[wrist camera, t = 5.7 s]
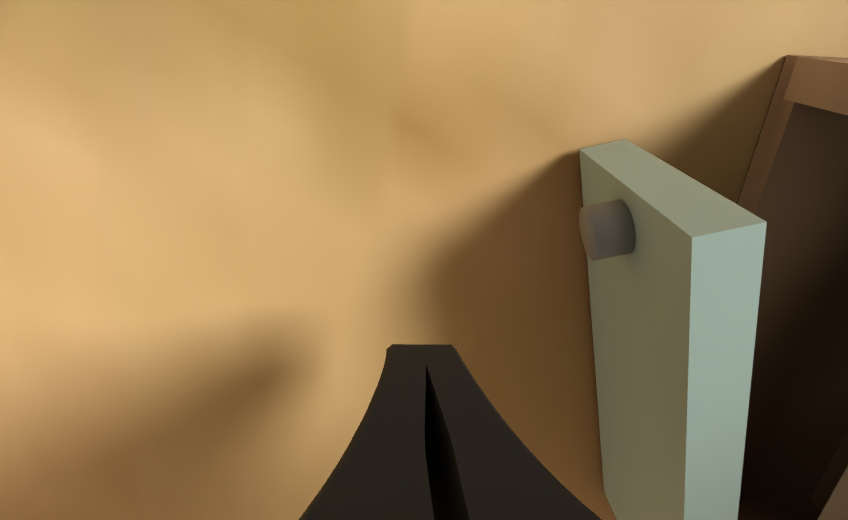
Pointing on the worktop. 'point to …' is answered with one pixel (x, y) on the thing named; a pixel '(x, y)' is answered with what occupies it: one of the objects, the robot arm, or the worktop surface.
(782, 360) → the cabinet
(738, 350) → the cabinet door
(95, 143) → the worktop surface
